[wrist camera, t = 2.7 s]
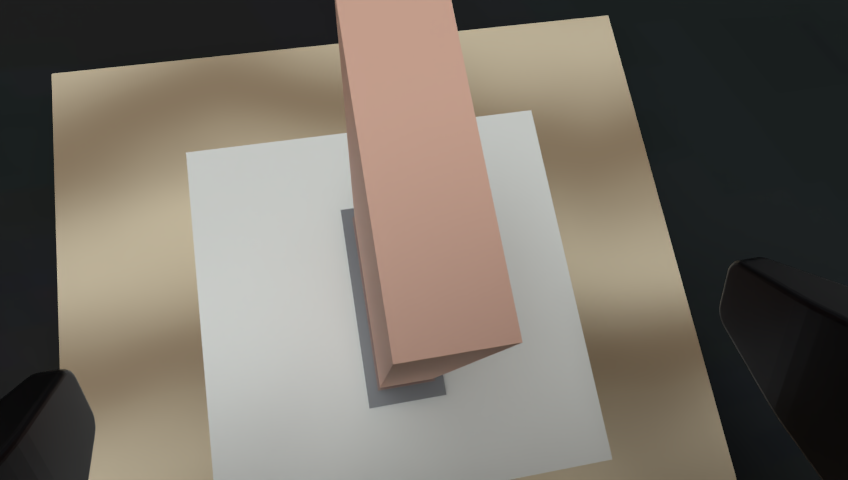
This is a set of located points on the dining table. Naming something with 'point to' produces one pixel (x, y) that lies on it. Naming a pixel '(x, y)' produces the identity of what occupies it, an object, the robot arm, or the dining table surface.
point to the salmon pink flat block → (420, 194)
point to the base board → (325, 115)
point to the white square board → (349, 333)
